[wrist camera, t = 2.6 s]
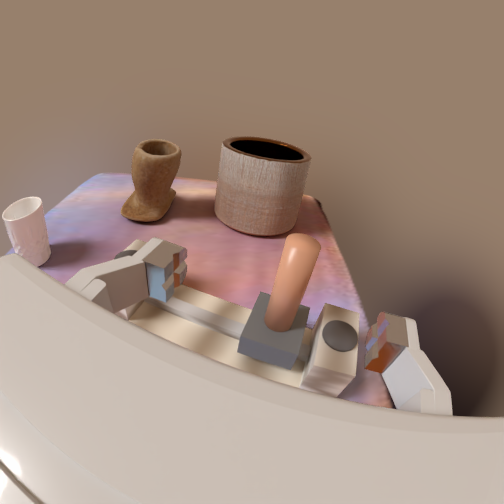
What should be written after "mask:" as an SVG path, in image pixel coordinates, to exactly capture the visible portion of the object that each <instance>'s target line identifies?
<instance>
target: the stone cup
mask: <svg viewBox="0 0 504 504" xmlns="http://www.w3.org/2000/svg"><path fill="white" fill-rule="evenodd" d="M180 158H181V150H180V148H179V147H178V146H177V145H175V144H174V143H172V142H170V141H166V140H161V139H150V140H146V141H143V142H141V143H140V144H138V146H137V147H136V149H135V151H134V154H133V158H132V180H133V183H134V186H135V191H134V192H133V194H132V195H131V196H130V197H129V198H128V199H127V201H126V202H125V203H124V205H123V206H122V208H121V214H122V216H124V217H125V218H128V219H131V220H135V221H144V222H147V221H156V220H159V219H160V218H162V217H163V216H164V214H165V213H166V212H167V211H168V209H169V207H170V205H171V203H172V201H173V199H174V197H175V194H176V192H175V191H174V190H173V189H172V188H170V187H171V185H172V183H173V180H174V178H175V176H176V173H177V171H178V169H179V165H180Z"/></svg>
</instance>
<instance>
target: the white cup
mask: <svg viewBox="0 0 504 504" xmlns="http://www.w3.org/2000/svg"><path fill="white" fill-rule="evenodd" d="M2 218H3V221H4V223H5V227H6V229H7V232H8V235H9V238H10V241H11V243H12V245H13V248H14V250H15V252H16V254H19V255H21V256H22V257H24V258H25V259H27V260H28V261H29V262H31V263H32V264H34V265H35V266H36V267H39V266H40V265H42V264H44V263H45V262H46V261H47V260H48V259H49V257H50V255H51V250H50V246H49V241H48V233H47V228H46V222H45V217H44V212H43V205H42V200H41V199H40V198H38V197H27V198H24V199H21V200H18V201H16V202H14V203H13V204H11V205H10V206H8V207H7V208H6V209H5V211H4V212H3V215H2Z"/></svg>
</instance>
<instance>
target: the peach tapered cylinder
mask: <svg viewBox="0 0 504 504" xmlns="http://www.w3.org/2000/svg"><path fill="white" fill-rule="evenodd" d="M320 249H321V245H320V243H319V242H318V241H317V240H316V239H314V238H313V237H311V236H309V235H306V234H301V233H293V234H290V235H288V236H287V238H286V242H285V245H284V249H283V253H282V257H281V260H280V264H279V268H278V271H277V275H276V278H275V282H274V286H273V289H272V293H271V295H269V294H266V293H263V292H260V294H259V296H258V299H257V301H256V303H255V305H254V307H253V310H252V312H251V314H250V316H249V318H248V320H247V323H246V325H245V327H244V329H243V331H242V333H241V336H240V340H239V345H238V349H237V352H238V353H240V354H243V355H246V356H249V357H252V358H255V359H258V360H261V361H263V362H267V363H270V364H273V365H276V366H279V367H282V368H285V369H288V370H291V368H292V367H293V365H294V363H295V361H296V359H297V357H298V355H299V351H300V348H301V344H302V340H303V336H304V331H305V327H306V323H307V319H308V314H309V310H310V307H307V306H303V305H300V303H301V301H302V298H303V295H304V293H305V290H306V288H307V285H308V282H309V280H310V277H311V274H312V272H313V269H314V266H315V263H316V261H317V258H318V255H319V252H320Z"/></svg>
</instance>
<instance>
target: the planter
mask: <svg viewBox="0 0 504 504" xmlns="http://www.w3.org/2000/svg"><path fill="white" fill-rule="evenodd" d="M310 163H311V156H310V155H309V154H308V153H307V152H306V151H304V150H302V149H300V148H298V147H296V146H293V145H291V144H288V143H284V142H281V141H277V140H272V139H267V138H260V137H248V136H247V137H246V136H244V137H232V138H228V139H225V140H224V141H223V143H222V150H221V158H220V166H219V173H218V180H217V188H216V196H215V206H214V208H215V214H216V216H217V217H218V219H219V220H220V221H221V222H223V223H224V224H225V225H227V226H228V227H230V228H232V229H234V230H236V231H239V232H242V233H245V234H249V235H255V236H274V235H280V234H283V233H285V232H288V231H289V230H291V229H292V228H293V227H294V225H295V223H296V220H297V217H298V213H299V209H300V204H301V200H302V196H303V192H304V187H305V183H306V179H307V175H308V171H309V167H310Z"/></svg>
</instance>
